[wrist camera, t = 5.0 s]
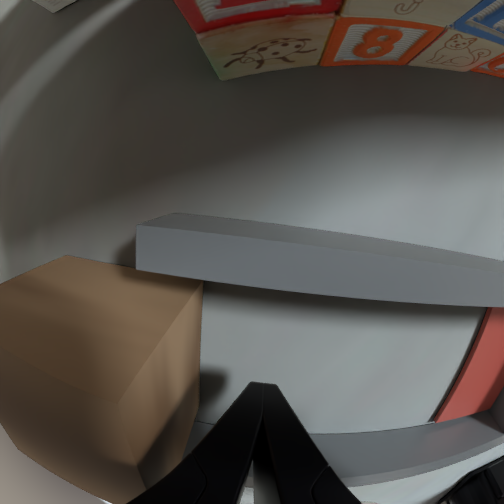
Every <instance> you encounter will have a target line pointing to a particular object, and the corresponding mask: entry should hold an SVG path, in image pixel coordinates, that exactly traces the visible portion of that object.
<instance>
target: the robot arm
mask: <svg viewBox="0 0 504 504" xmlns="http://www.w3.org/2000/svg"><path fill="white" fill-rule="evenodd" d="M252 460H253V489H254V504H362V503H361V502H360V501H359V500H358V499H357V498H356V497H355V496H354V495H353V494H352V493H351V491H350V490H349V489H348V488H347V487H346V486H345V484H344V483H343V482H342V481H341V479H340V478H339V477H338V475H337V474H336V473H335V471H334V470H333V468H332V467H331V466H328V465H329V463H328V461H327V460H326V459H325V457H324V456H323V454H322V453H321V451H320V450H319V449H318V447H317V446H316V444H315V443H314V441H313V440H312V438H311V437H310V435H309V434H308V432H307V431H306V429H305V428H304V426H303V425H302V423H301V422H300V420H299V419H298V417H297V416H296V414H295V413H294V411H293V409H292V408H291V406H290V405H289V403H288V402H287V400H286V399H285V397H284V395H283V394H282V392H281V391H280V389H279V388H278V386H277V385H276V384H269V383H260V382H250V383H249V384H248V385H247V387H246V388H245V389H244V390H243V391H242V393H241V394H240V395H239V396H238V398H237V399H236V400H235V401H234V403H233V404H232V405H231V406H230V407H229V409H228V410H227V411H226V412H225V413H224V414H223V416H222V417H221V418H220V419H219V420H218V421H217V423H216V424H215V425H214V426H213V427H212V428H211V430H210V431H209V432H208V433H207V434H206V435H205V436H204V437H203V439H202V440H201V441H200V442H199V443H198V444H197V445H196V446H195V447H194V448H193V450H192V451H191V453H189V454H188V455H187V456H186V457H185V458H184V459H183V460H182V461H181V462H180V463H179V464H178V465H177V466H176V467H175V468H174V469H173V470H172V471H171V472H170V473H168V474H167V475H166V476H165V477H163V478H162V479H161V480H160V481H158V482H157V483H156V484H154V485H153V486H152V487H150V488H149V489H147V490H146V491H144V492H143V493H141V494H140V495H138V496H137V497H135V498H134V499H132V500H131V501H129V502H128V503H126V504H240V501H241V497H242V494H243V491H244V488H245V484H246V481H247V478H248V474H249V471H250V467H251V464H252ZM437 504H504V457H502V458H500V459H498V460H496V461H494V462H492V463H490V464H488V465H486V466H484V467H482V468H480V469H478V470H476V471H474V472H472V473H470V474H469V475H468V476H467V477H466V478H465V479H464V480H463V481H462V482H460V483H459V484H458V485H457V486H456V487H455V488H454V489H453V490H452V491H451V492H450V493H449V494H447V495H446V496H445V497H444V498H443V499H442V500H440V501H439V502H438V503H437Z"/></svg>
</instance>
